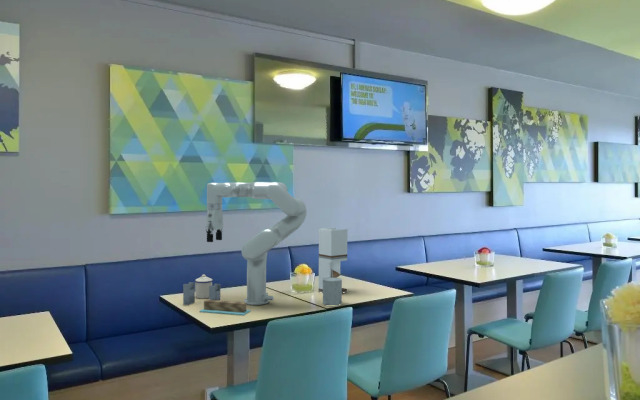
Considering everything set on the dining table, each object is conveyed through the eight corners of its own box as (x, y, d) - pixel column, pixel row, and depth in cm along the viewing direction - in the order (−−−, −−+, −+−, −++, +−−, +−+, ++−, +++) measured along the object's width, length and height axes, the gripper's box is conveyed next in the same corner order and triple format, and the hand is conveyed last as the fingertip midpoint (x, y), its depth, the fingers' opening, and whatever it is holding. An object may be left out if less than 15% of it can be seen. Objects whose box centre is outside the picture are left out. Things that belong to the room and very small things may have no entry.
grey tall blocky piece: (331, 295, 269) (331, 230, 268) (318, 292, 278) (318, 228, 277) (346, 292, 276) (347, 229, 275) (334, 289, 285) (334, 227, 284)
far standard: (194, 302, 252) (194, 282, 251) (188, 305, 246) (188, 284, 246) (189, 302, 252) (189, 282, 252) (183, 304, 247) (183, 284, 246)
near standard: (220, 304, 248) (220, 284, 248) (214, 307, 242) (214, 286, 242) (214, 303, 249) (214, 283, 248) (209, 306, 243) (209, 286, 243)
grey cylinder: (328, 307, 244) (328, 281, 244) (319, 302, 252) (319, 278, 252) (345, 305, 248) (345, 280, 248) (335, 300, 257) (336, 276, 256)
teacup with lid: (214, 298, 262) (214, 275, 261) (196, 299, 258) (196, 276, 258) (209, 293, 273) (209, 271, 272) (192, 294, 269) (192, 273, 269)
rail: (246, 310, 233) (246, 302, 233) (243, 312, 230) (243, 303, 230) (207, 307, 238) (207, 299, 238) (203, 309, 235) (203, 301, 235)
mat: (250, 311, 235) (250, 309, 235) (243, 315, 227) (243, 314, 227) (207, 307, 240) (207, 306, 240) (199, 312, 233) (199, 310, 233)
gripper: (213, 208, 245) (213, 243, 246) (228, 206, 262) (228, 239, 262) (199, 207, 247) (199, 242, 248) (215, 206, 264) (215, 239, 264)
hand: (214, 240), depth 255 cm, fingers open, 9 cm apart
